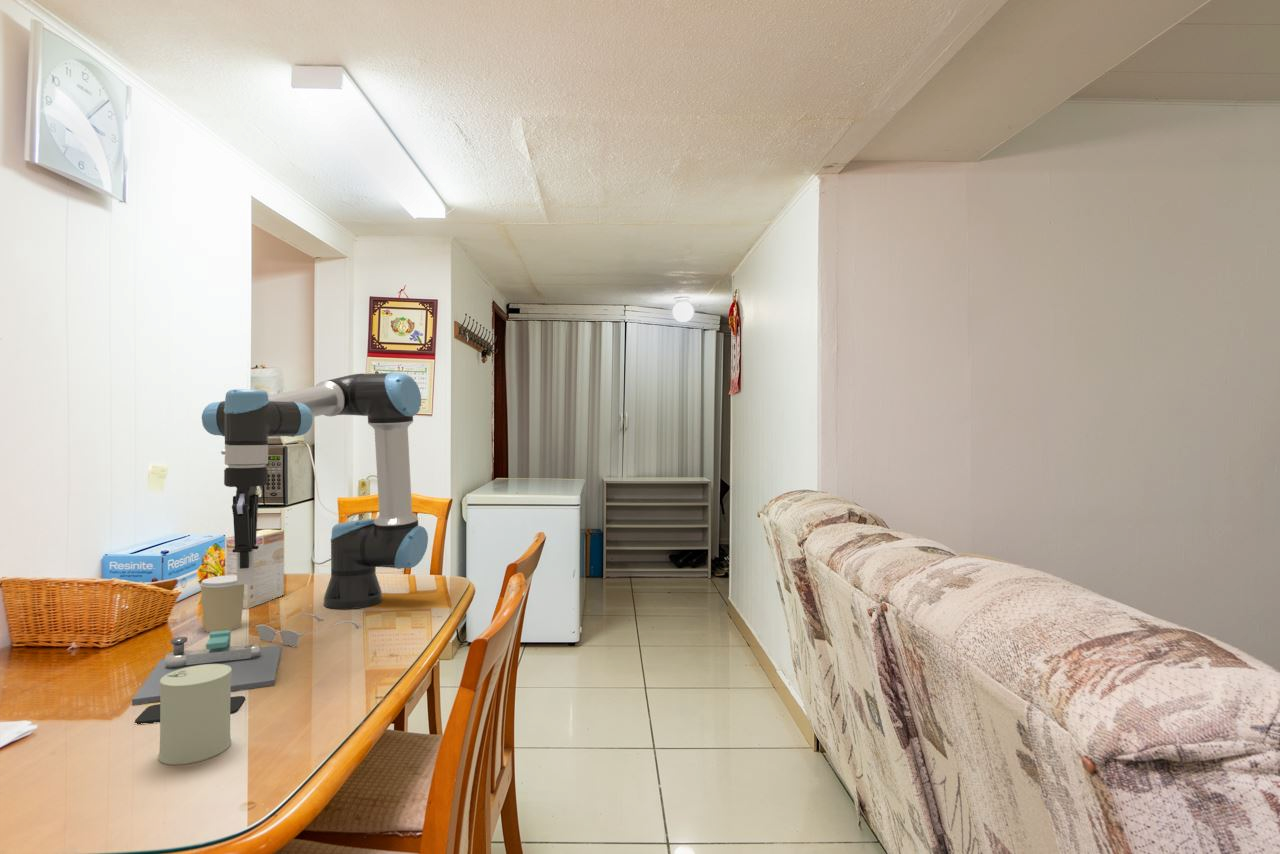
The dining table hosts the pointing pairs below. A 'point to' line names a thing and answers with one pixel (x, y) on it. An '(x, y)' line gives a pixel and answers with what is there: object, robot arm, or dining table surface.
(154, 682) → the board
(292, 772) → the dining table surface
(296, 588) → the dining table surface
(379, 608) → the dining table surface
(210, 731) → the can
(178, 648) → the link
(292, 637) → the eyeglasses
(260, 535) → the coffeecake box
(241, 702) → the phone
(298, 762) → the dining table surface
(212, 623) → the coffee cup
